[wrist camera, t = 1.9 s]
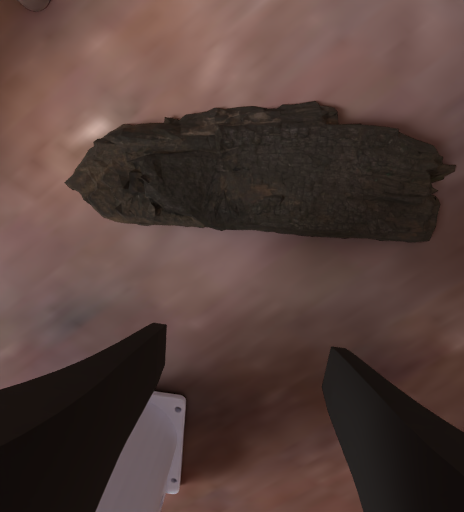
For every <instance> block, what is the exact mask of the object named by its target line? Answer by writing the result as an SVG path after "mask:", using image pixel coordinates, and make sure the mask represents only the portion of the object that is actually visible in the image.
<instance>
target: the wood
mask: <svg viewBox="0 0 464 512" xmlns="http://www.w3.org/2000/svg"><path fill="white" fill-rule="evenodd" d="M398 131H399V129H396V128H390V127H382V126H372V125H362V124H340V125H339V123H338V115H337V111H336V110H335V108H333V107H328V106H320V105H319V104H318V103H317V102H316V101H313V102H307V103H301V104H295V105H281V106H280V107H279V108H277V109H267V108H261V107H255V106H251V107H237V108H230V109H220V108H213V109H211V110H209V111H207V112H202V113H198V114H188V115H185V116H184V117H182V118H181V119H180V120H178V119H173V118H167V117H165V121H164V123H149V124H138V125H134V126H132V125H129V124H123V125H121V126H120V127H118V128H117V129H115V130H113V131H111V132H110V133H108V134H107V135H106V136H104V137H103V138H101V139H97V140H96V141H94V147H92V148H90V149H89V150H88V152H87V154H86V155H85V157H84V158H83V160H82V161H81V163H80V164H79V165H78V167H77V168H76V169H75V172H74V174H73V175H72V176H71V177H70V178H69V179H68V180H67V181H66V182H65V184H66V185H67V186H68V187H69V188H71V189H72V190H76V191H78V192H79V193H80V194H81V195H82V197H83V199H84V200H85V201H86V202H87V203H89V204H90V205H91V206H92V207H93V208H94V209H95V210H96V211H97V212H98V213H99V214H100V215H101V216H103V217H104V218H107V219H110V220H113V221H116V222H121V223H130V224H138V225H144V226H149V225H176V226H185V227H199V228H204V227H210V228H213V229H216V230H220V231H223V230H257V231H265V232H276V233H281V234H294V235H300V236H311V237H314V236H316V237H334V238H368V239H376V240H379V241H389V240H390V241H404V242H424V241H429V240H430V238H431V236H432V233H433V231H434V229H435V227H436V221H437V215H438V211H439V207H440V203H439V200H438V199H437V197H436V196H434V195H431V194H433V193H435V192H437V191H438V190H436V189H434V188H433V187H432V184H431V183H432V182H435V181H439V180H443V179H444V176H446V175H448V174H450V173H452V172H454V171H455V167H456V165H444V164H443V162H442V160H443V157H442V156H440V155H439V154H438V152H437V150H436V148H435V147H434V146H433V145H430V144H428V143H425V142H422V141H419V140H416V139H413V138H411V137H409V136H406V135H404V134H402V133H400V132H398Z"/></svg>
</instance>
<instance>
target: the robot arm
mask: <svg viewBox="0 0 464 512" xmlns="http://www.w3.org/2000/svg"><path fill="white" fill-rule="evenodd" d="M166 328H167V325H166V324H158V323H152V324H150V325H148V326H146V327H144V328H143V329H141V330H139V331H137V332H136V333H134V334H132V335H130V336H129V337H127V338H125V339H123V340H122V341H120V342H118V343H116V344H114V345H112V346H110V347H108V348H106V349H104V350H102V351H101V352H99V353H97V354H95V355H93V356H91V357H88V358H86V359H84V360H82V361H80V362H77V363H75V364H73V365H70V366H68V367H65V368H63V369H60V370H58V371H55V372H52V373H49V374H47V375H44V376H41V377H38V378H35V379H32V380H29V381H27V382H24V383H21V384H17V385H14V386H11V387H7V388H4V389H1V390H0V512H161V508H162V505H163V501H164V498H165V494H166V493H171V494H176V493H178V492H179V488H180V480H181V466H182V452H183V438H184V424H185V411H186V399H185V397H184V396H182V395H177V394H170V393H163V392H156V391H154V390H155V388H156V386H157V383H158V381H159V379H160V376H161V374H162V371H163V368H164V366H165V351H166ZM322 389H323V394H324V398H325V402H326V406H327V410H328V413H329V416H330V419H331V421H332V424H333V427H334V429H335V432H336V435H337V437H338V440H339V442H340V445H341V448H342V450H343V453H344V455H345V458H346V461H347V463H348V466H349V469H350V471H351V474H352V477H353V479H354V482H355V485H356V488H357V491H358V494H359V498H360V501H361V505H362V508H363V512H464V432H462V431H460V430H459V429H457V428H456V427H454V426H452V425H451V424H449V423H448V422H446V421H445V420H443V419H442V418H440V417H438V416H437V415H435V414H434V413H432V412H431V411H429V410H428V409H426V408H425V407H423V406H422V405H420V404H419V403H418V402H416V401H415V400H413V399H412V398H411V397H409V396H408V395H406V394H405V393H404V392H402V391H401V390H400V389H398V388H397V387H396V386H394V385H393V384H392V383H390V382H389V381H388V380H386V379H385V378H384V377H382V376H381V375H380V374H379V373H377V372H376V371H375V370H374V369H372V368H371V367H370V366H368V365H367V364H366V363H365V362H363V361H362V360H361V359H360V358H358V357H357V356H356V355H354V354H353V353H352V352H350V351H349V350H347V349H346V348H338V347H331V349H330V354H329V358H328V362H327V367H326V371H325V376H324V380H323V384H322ZM177 407H180V408H177Z"/></svg>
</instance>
